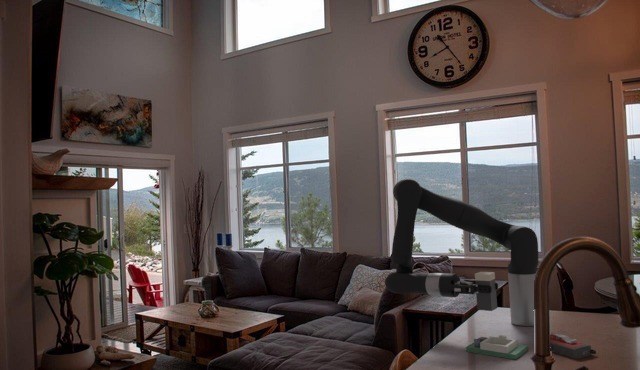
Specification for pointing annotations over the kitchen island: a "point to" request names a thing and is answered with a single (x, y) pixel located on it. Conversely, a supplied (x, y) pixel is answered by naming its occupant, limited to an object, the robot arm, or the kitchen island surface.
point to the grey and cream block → (486, 299)
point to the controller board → (497, 347)
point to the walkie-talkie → (569, 347)
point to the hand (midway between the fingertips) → (494, 288)
